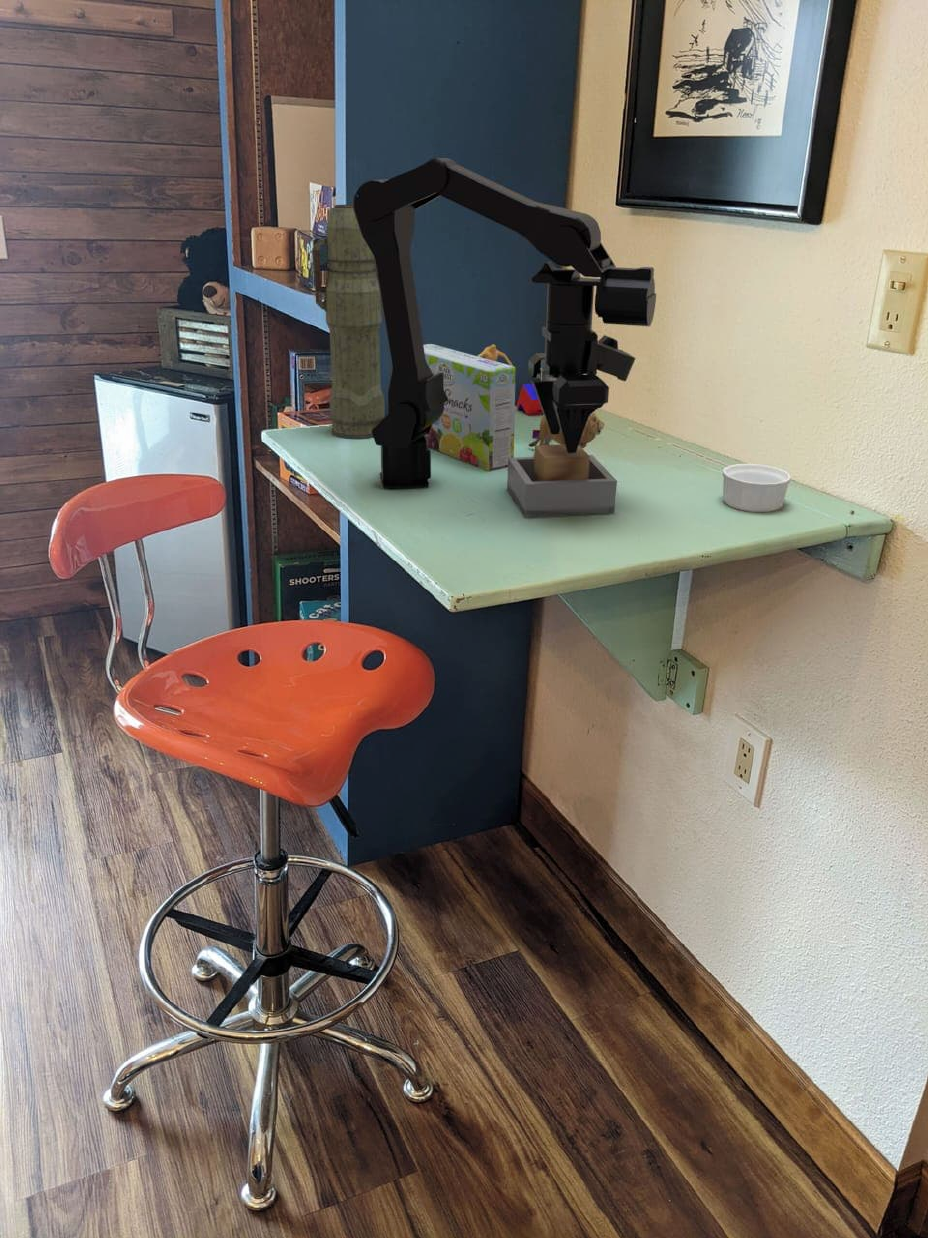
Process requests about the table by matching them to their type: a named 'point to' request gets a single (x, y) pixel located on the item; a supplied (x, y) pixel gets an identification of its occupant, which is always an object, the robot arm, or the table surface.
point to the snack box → (474, 408)
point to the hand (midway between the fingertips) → (563, 442)
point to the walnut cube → (560, 463)
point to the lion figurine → (588, 435)
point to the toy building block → (529, 400)
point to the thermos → (351, 325)
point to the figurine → (493, 354)
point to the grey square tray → (561, 491)
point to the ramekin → (755, 487)
